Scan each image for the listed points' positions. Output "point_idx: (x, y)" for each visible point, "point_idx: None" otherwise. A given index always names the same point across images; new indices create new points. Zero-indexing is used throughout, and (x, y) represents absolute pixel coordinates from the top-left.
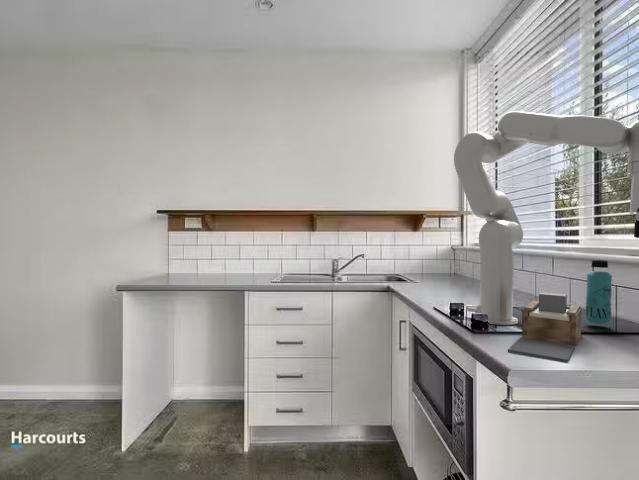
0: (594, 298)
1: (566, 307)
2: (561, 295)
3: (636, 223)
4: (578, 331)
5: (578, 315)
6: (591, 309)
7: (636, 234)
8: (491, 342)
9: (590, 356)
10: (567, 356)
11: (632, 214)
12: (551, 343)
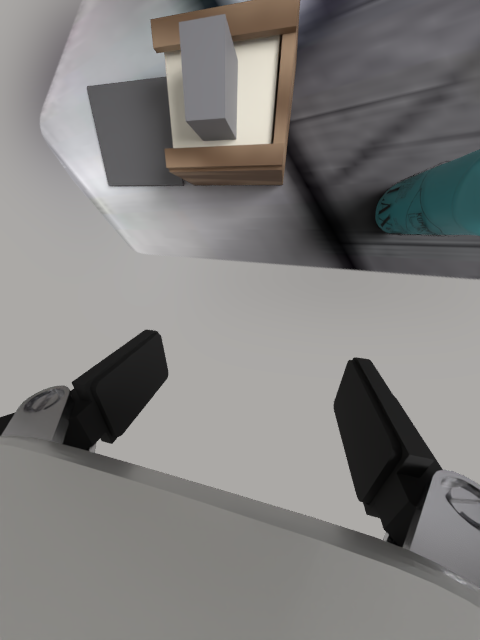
0: (410, 190)
1: (234, 135)
2: (194, 107)
3: (86, 374)
4: (231, 181)
5: (211, 173)
6: (396, 189)
7: (139, 338)
8: (119, 27)
9: (158, 209)
10: (121, 182)
11: (174, 480)
12: (170, 146)
